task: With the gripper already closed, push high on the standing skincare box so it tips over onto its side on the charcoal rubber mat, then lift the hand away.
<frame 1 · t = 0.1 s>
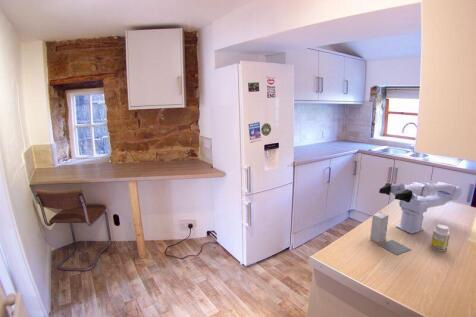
hand: (387, 193, 118), 22 cm above the counter, tool horizontal, fingers open, 7 cm apart
supplement bottle: (438, 248, 114), on the counter
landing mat: (394, 247, 115), on the counter
skincare box: (377, 239, 122), on the counter
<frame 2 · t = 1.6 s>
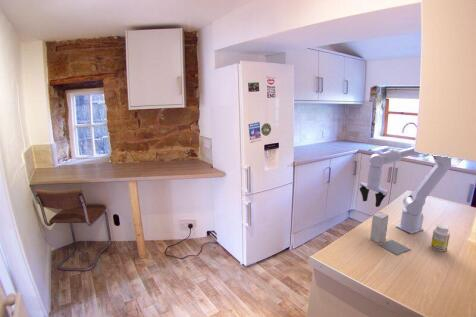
hand: (371, 203, 135), 10 cm above the counter, tool pointing down, fingers open, 7 cm apart
nothing on the counter moved.
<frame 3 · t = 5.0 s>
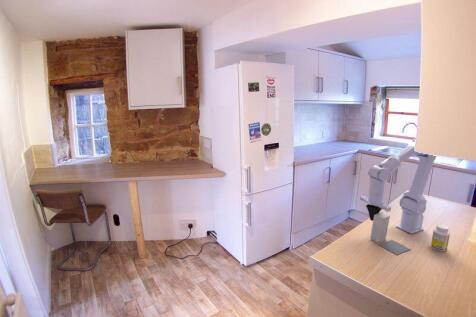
hand: (372, 219, 123), 8 cm above the counter, tool pointing down, fingers closed
skincare box: (377, 239, 122), on the counter, touching gripper
everything else where it was.
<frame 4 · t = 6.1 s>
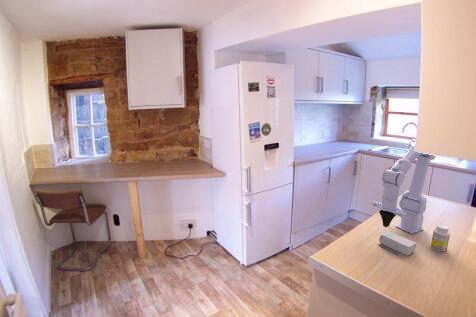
hand: (386, 226, 117), 8 cm above the counter, tool pointing down, fingers closed
skincare box: (382, 235, 119), point 3 cm above the counter, touching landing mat
everything else where it was.
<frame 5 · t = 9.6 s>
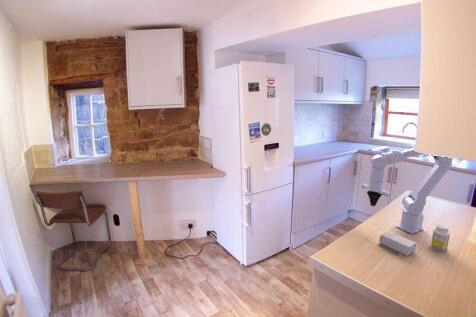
hand: (373, 205, 132), 10 cm above the counter, tool pointing down, fingers closed
nothing on the counter moved.
at the end: skincare box tilted 92°; skincare box touching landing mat; the gripper is holding nothing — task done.
